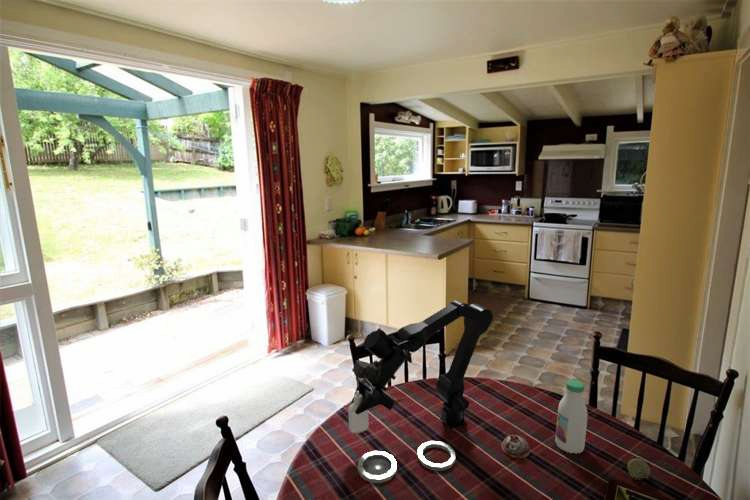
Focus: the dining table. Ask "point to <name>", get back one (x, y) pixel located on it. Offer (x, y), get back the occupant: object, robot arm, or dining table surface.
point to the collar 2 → (433, 465)
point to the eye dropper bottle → (357, 416)
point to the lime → (638, 468)
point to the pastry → (516, 447)
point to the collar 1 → (377, 467)
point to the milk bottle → (572, 419)
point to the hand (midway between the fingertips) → (353, 409)
